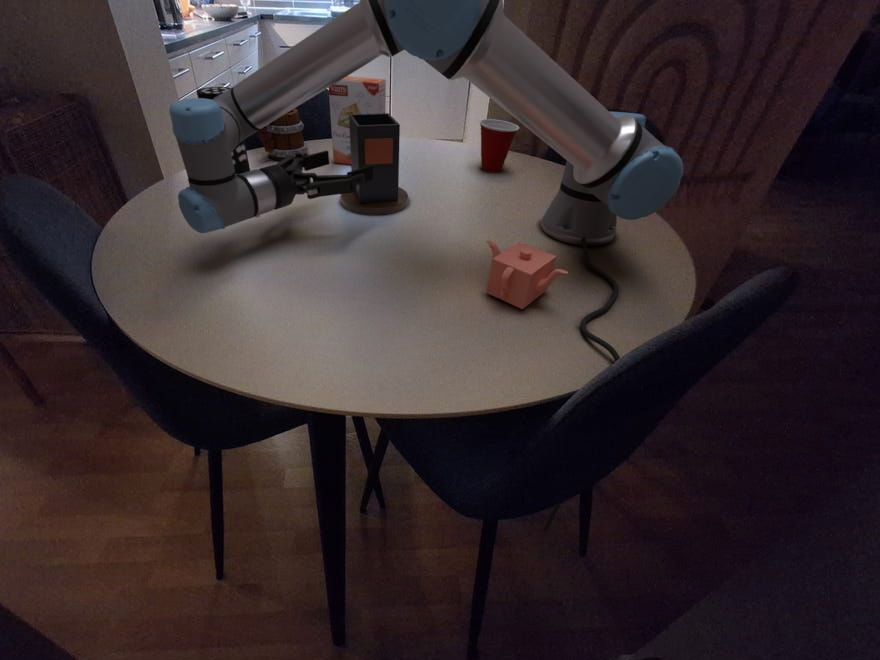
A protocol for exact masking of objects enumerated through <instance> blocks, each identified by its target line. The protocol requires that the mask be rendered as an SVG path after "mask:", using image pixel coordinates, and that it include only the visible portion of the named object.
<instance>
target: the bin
mask: <svg viewBox="0 0 880 660" xmlns="http://www.w3.org/2000/svg"><path fill="white" fill-rule="evenodd" d="M349 126H350V148H351V165H350V166H351V167H350V168H351V169H350V171H353V170H356V169H359V168H362V167H366V166H369V165H371V166H373V180H370V181H367V182H364V183H361V184H358V185H356V190H357V192H355V194H356V197H357V199H358V201H359V203H360V204H363V203H376V202H390V201H398V187H399V179H400V176H399V175H400V141H401V140H400V137H401V136H400V135H401V133H400V132H401V124H400V123H399V122H398V121H397V120H396V119H395V118H394V117H393V116H392V114H390V113H388V112H387V113H381V114H352V115H351V114H349Z"/></svg>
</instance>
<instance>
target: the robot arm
mask: <svg viewBox="0 0 880 660" xmlns="http://www.w3.org/2000/svg"><path fill="white" fill-rule="evenodd" d="M403 51H405V52H407V53H408V54H409V55H411V56H413V57H416V58H418V59H420V60H423V61H424V62H425V63H427V64H428V65H429V66H431V68H433V69H434V70H436V71H437V72H438V73H439V74H441V75H442V76H443V77H444V78H446V79H447V80H448V81H454V80H458V79H461V78H463V79H466V80H467V81H468V82H469V83H471V84H472V85H473V86H475V87H476V88H477V89H478V90H479V91H480V92H482V93H483V94H484V95H486V96H487V97H488V98H489V99H491V100H492V101H493V102H494V103H496V104H497V105H498V106H500V108H502V109H503V110H504V111H505V112H507V113H508V114H509V115H510V116H512V118H514V119H515V120H517V122H519V123H520V124H522V125H523V126H524V127H525V128H527V130H529V131H530V132H531V133H533V134H534V135H535V136H536V137H538V138H539V139H540V140H541V141H542V142H544V143H545V144H546V145H548V146H549V147H550V148H551V149H552V150H554V151H555V152H556V153H557V154H559V155H560V156H561V157H562V158H563V159H565V160H566V162H565V166H564V170H563V174H562V179H561V182H560V185H559V189H558V192H557V193H556V195H555V196H554V198H553V200H552V201H551V203H550V204H549V206H548V208H547V209H546V210H545V212H544V214H543V216H542V220H541V224H540V227H541V229H542V231H543V232H544V233H545V234H546V235H547V236H549V237H551V238H553V239H555V240H557V241H560V242H563V243H566V244H569V245H574V246H582V252H583V261H584V263H585V265H586V266H587V267H588V268H589V269H590V270H591V271H593V272H594V273H596V274H597V275H599V276H601V277H603V278H604V279H606V280H607V282H609V283H610V284H611V286H612V291H613V292H612V294H611V296H610V298H609V299H608V301H607V302H606V303H605V305H603V306H602V307H600V308H599V309H596V310H594V311H592V312H590V313H588V314H587V315H585V316H584V317H583V318H582V319H581V321H580V331H581V332H582V334H583V336H585V337H586V338H587V339H589V340H591V341H592V342H594V343H596V344H597V345H600V346H601V347H602V348H604V349H605V350H606V351H607V352H608V353H609V354H610V355H611V356H612V358H613V360H614V362H615V361H617V360H618V359H619V358H620V359H621V356H620V354H619V353H618V351H617V350H616V349H615V348H614V346H612V345H611V344H610V343H608V342H607V341H605V340H604V339H602V338H600V337H598V336H597V335H595V334H593V333H592V332H590V331H589V330H588V328H587V324H588V321H590V320H591V319H593V318H595V317H597V316H599V315H601V314H603V313H605V312H606V311H607V310H609V309H610V308H611V307H612V305H613V304H614V303H615V301H616V299H617V297H618V295H619V293H620V292H619V285H618V282H617V281H616V280H615V279H614V278H613V277H612V276H611V275H609V274H608V273H607V272H605V271H604V270H602V269H600V268H598V267H597V266H595V265H594V264H593V263H592V262H591V261H590V258H589V248H588V247H599V246H603V245H606V244H608V243H610V242H612V241H613V239H614V236H615V234H616V232H617V217H618V218H620V219H622V220H627V221H635V220H639V219H641V218H646V217H649V216H650V215H651V216H652V215H653V214H655V213H656V212H658V211H659V210H661V209H662V208H663V207H664V206H665V205H666V204H667V203H668V202H669V201H670V200H671V199H673V197H674V196H675V194H676V192H677V191H678V189H679V187H680V185H681V180H682V177H683V175H684V163H683V160H682V157H680V155H679V154H678V153H677V151H676V150H675V148H672V147H671V146H667V145H666V144H664V143H662V142H660V141H659V139H657V138H656V137H655V136H654V135H653V134H652V133H651V132H650V131H648V130H647V128H646V121H647V120H646V119H647V118H646V116H645V115H644V114H641V113H634V112H625V111H623V112H622V111H609V110H608V109H607V108H606V107H605V106H604V105H603V104H602V103H601V102H599V100H597V99H596V98H595V97H594V96H592V94H591V93H589V92H588V90H586V88H584V87H583V85H581V84H580V83H579V82H577V80H575V79H574V78H573V77H572V76H571V75H570V74H569V73H568V72H567V71H566V70H565V69H563V67H561V66H560V65H559V64H558V63H557V62H556V61H555V60H554V59H552V58H551V57H550V55H548V54H547V53H546V52H545V51H544V50H543V49H542V48H541V47H539V46H538V45H537V44H536V43H535V42H534V41H533V40H532V39H530V37H529V36H528V35H526V34H525V33H524V32H523V31H522V30H521V29H520V28H519V27H517V26H516V25H515V24H514V23H513V22H512V21H511V20H510V19H509V18H508V17H507V16H506V15H505V13H504V0H359V1H358V2H357V3H356V4H354V5H352V6H351V7H350V8H348V9H347V10H345V11H344V12H342V13H341V14H339V15H338V16H336V17H335V18H333V19H332V20H331V21H329V22H328V23H326V24H325V25H322V27H319V28H318V29H316V30H314V32H312V33H311V34H310V35H308V36H307V37H305V38H303V39H301V40H300V41H299V42H297V43H296V44H295V45H293V46H291V47H290V48H288V49H287V50H286V51H284V52H282V53H281V54H279V55H278V56H276V57H275V58H273V59H272V60H270V61H269V62H268V63H266V64H265V65H263V66H261V67H260V68H259V69H257V70H255V71H254V72H253V73H251V74H249V75H247V77H245V78H243V79H241V80H240V81H239V82H237V83H235V84H234V86H232V87H229V88H230V89H228V90H227V91H225V92H224V93H222V94H220V95H218V96H216V97H215V98H213V99H212V100H211V99H204V98H198V97H195V98H194V97H193V98H183V99H180V100H176V101H173V102H172V103H171V104H170V105H169V110H168V111H169V116H170V120H171V124H172V132H173V135H174V137H175V139H176V142H177V146H178V149H179V152H180V156H181V158H182V162H183V165H184V169H185V172H186V176H187V181H188V186H187V187H185V188H184V189H182V190H179V192H178V194H177V198H178V202H177V203H178V207H179V210H180V212H181V214H182V217H183V219H184V220H185V222H186V224H188V226H189V227H190V228H191V229H192V230H194V231H196V232H197V233H200V234H207V233H211V232H214V231H218V230H224V229H226V228H228V227H230V226H232V225H236V224H239V223H241V222H244V221H246V220H249V219H252V218H260V216H261V215H264V214H267V213H270V212H272V211H275V210H279V209H282V208H285V207H288V206H290V205H292V204H293V201H294V199H295V197H296V196H297V195H298V196H299V195H300V196H301V195H305V194H306V197H307V199H309V200H313V199H316V198H320V197H328V196H336V195H337V196H338V195H341V194H346V193H354V192H357V190H356V185H358V184H361V183H364V182H367V181H370V180H373V166H371V165H369V166H366V167H362V168H359V169H356V170H353V171H352V170H350V171H347V172H346V174H323V175H322V174H321V175H319V174H317V173H316V172H309V171H310V170H311V171H312V170H315V169H318V168H321V167H324V166H327V165H330V155H329V150H323V151H319V152H315V153H312V154H308V155H306V156H304V157H303V158H302V157H301V153H296V154H295V155H296V158H294V156H292V155H290V156H288V157H286V158H285V159H283V160H282V161H279V162H277V163H276V164H272V165H267V166H264V167H260V168H259V169H257V168H256V169H252V170H250V171H248V172H245V173H241V174H238V175H235V170H234V165H233V160H232V156H231V152H232V151H233V150H234V149H235V148H236V147H237V145H238V144H239V143H240V142H241V141H243V140H244V141H245V140H246V139H248V138H249V137H251V136H252V135H254V134H256V133H257V131H259V130H260V129H261V128H263V127H265V126H266V125H268V124H269V123H271V122H273V121H274V120H276V119H278V118H279V117H281V116H283V115H284V114H286V113H288V112H289V111H291V110H292V109H297V107H299V106H300V105H303V104H305V103H306V102H307V101H310V99H312V98H314V97H316V96H317V95H319V94H320V93H322V92H324V91H325V90H327V89H329V87H330V86H332V85H333V84H335V83H337V82H338V81H340V80H342V79H343V78H345V77H347V76H351V74H353V73H355V72H356V71H358V70H360V69H362V68H364V67H365V66H366V65H368V64H370V63H371V62H372V61H375V60H376V59H378V58H380V57H381V56H386V57H388V58H393V57H394V56H396V55H398V54H400V53H402V52H403ZM303 171H305V172H303ZM306 171H308V172H306ZM562 504H563V502H560V503H559V504H556V503H555V505H554V507H553V508H552V510H551V513H550V515H549V516H548V519H547V520H546V522H545V524H544V527H543V531H544V532H548V531H549V528H550V526H551V525H552V523H553V520H554V518H555V516H556V515H557V513H558V511H559V509H560V507H561V506H562Z"/></svg>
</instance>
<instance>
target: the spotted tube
mask: <svg viewBox="0 0 880 660" xmlns="http://www.w3.org/2000/svg"><path fill="white" fill-rule="evenodd" d="M230 88H231V87H229V86H208V87H201V88H198V89H197V90H196V91H195V92H196V97H197V98H204V99H211V100H212V99H213V98H215V97H216V96H218V95H220V94H222V93H224V92H225V91H227V90H228V89H230ZM231 156H232V160H233V165H234V170H235V175H238V174H241V173H245V172H248V171H251V166H250V161H249V157H248V151H247V147H246V141H245V139H244V140H243V141H241V142H240V143H239V144H238V145H237V147H236V148H235V149H234V150H233V151H232V152H231Z"/></svg>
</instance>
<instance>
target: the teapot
mask: <svg viewBox="0 0 880 660" xmlns="http://www.w3.org/2000/svg"><path fill="white" fill-rule="evenodd" d="M486 244H487V245H488V246H489V247H490V249H491V253H492V259H491V263H490V269H489V275H488V280H487V285H486V291H485V293H486V294H488V295H491V296H493V297H495V298H497V299H500V300H502V301H503V302H506V303H508V304H510V305H512V306H514V307H516V308H518V309H521V310H524V309H525V308H527V306H529V305H530V304H531V303H533V302H534V301H535V300H536V299H538V297H540V296H541V295H542V294H544V293H545V292H547V291H548V289H549V287H550V286H552V284H553V283H554V281H555V280H556V278H557V277H558V276H561V275H565V274H566V275H567V274H569V271H567V270H565V269H562V268H556V269H554V268H555V265H556V261H557V258H558V256H557V255H555V254H552V253H550V252H547V251H544V250H542V249H540V248H536V247H534V246H531V245H528V244H525V243H523V242H520V241H519V242H517V243H515V244H514V245H512V246H510V247H509V248H507V249H505V250H504V251H502V252H500V249H499V246H498V245H497V244H496V243H495V242H493V241H490V240H486Z"/></svg>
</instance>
